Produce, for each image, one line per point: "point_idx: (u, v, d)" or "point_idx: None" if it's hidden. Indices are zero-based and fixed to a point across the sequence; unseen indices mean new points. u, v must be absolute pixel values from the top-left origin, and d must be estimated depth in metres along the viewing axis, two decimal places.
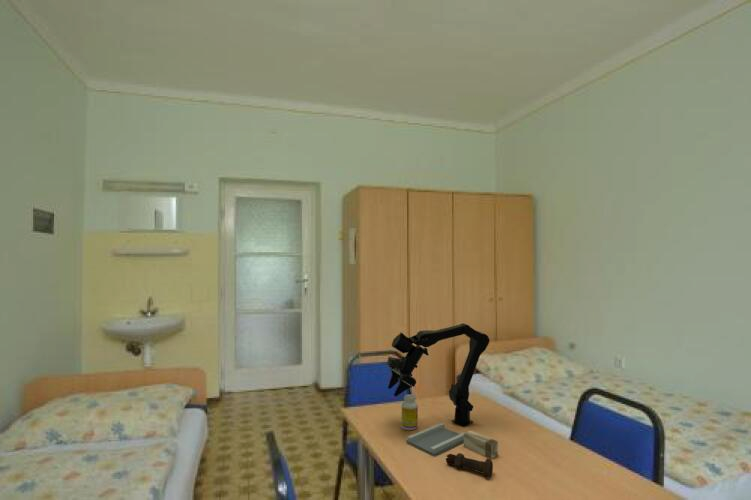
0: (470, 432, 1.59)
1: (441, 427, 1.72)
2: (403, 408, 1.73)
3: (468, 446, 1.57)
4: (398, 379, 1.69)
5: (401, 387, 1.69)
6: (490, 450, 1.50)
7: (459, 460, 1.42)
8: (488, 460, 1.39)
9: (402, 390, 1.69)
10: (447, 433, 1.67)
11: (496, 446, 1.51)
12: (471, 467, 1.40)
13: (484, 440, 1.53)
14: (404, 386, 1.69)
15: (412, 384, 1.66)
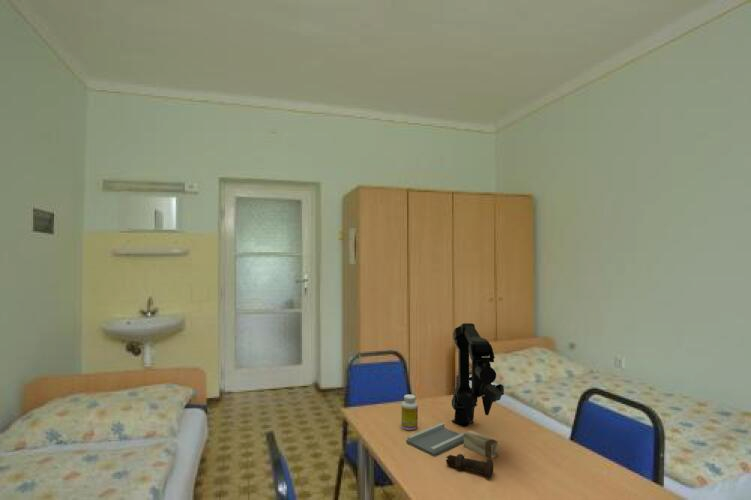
0: (470, 432, 1.59)
1: (441, 427, 1.72)
2: (403, 408, 1.73)
3: (468, 446, 1.57)
4: None
5: None
6: (490, 450, 1.50)
7: (460, 461, 1.41)
8: (489, 460, 1.38)
9: None
10: (447, 433, 1.67)
11: (496, 446, 1.51)
12: (472, 468, 1.39)
13: (484, 440, 1.53)
14: None
15: None
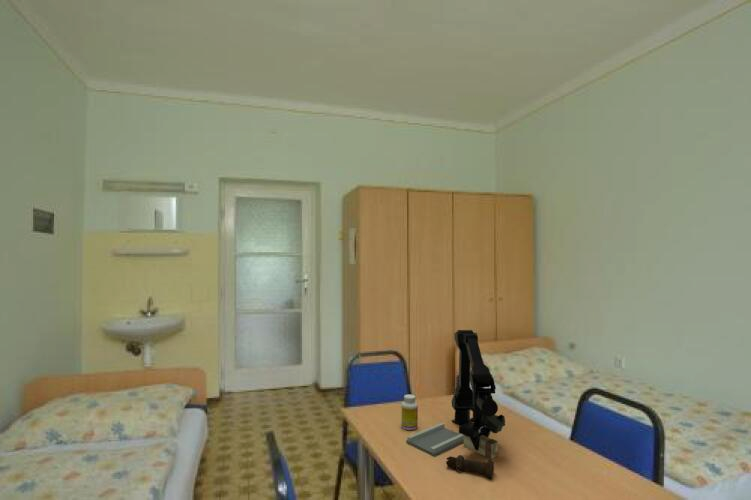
0: None
1: (441, 427, 1.72)
2: (403, 408, 1.73)
3: (468, 446, 1.57)
4: (490, 431, 1.55)
5: None
6: (490, 449, 1.50)
7: (460, 462, 1.40)
8: (490, 460, 1.38)
9: None
10: (447, 433, 1.67)
11: (496, 446, 1.51)
12: (473, 469, 1.39)
13: (484, 440, 1.53)
14: None
15: None
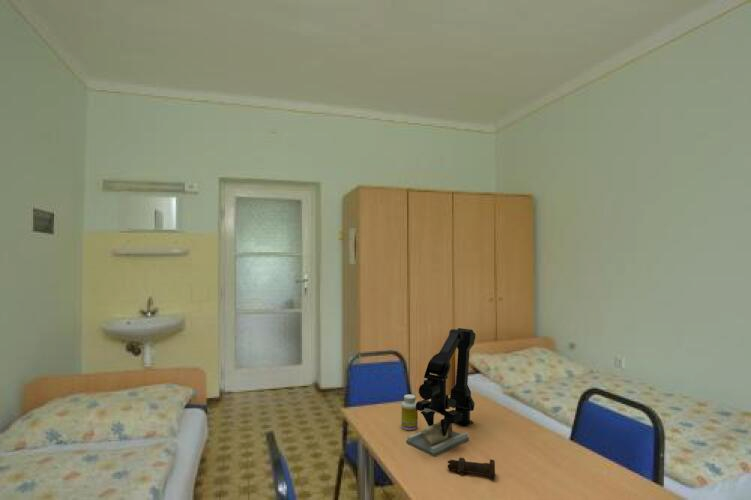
0: (428, 428, 1.60)
1: None
2: (403, 408, 1.73)
3: (435, 441, 1.58)
4: None
5: None
6: (451, 428, 1.65)
7: (463, 465, 1.39)
8: (492, 461, 1.38)
9: None
10: None
11: None
12: (475, 470, 1.38)
13: None
14: None
15: None
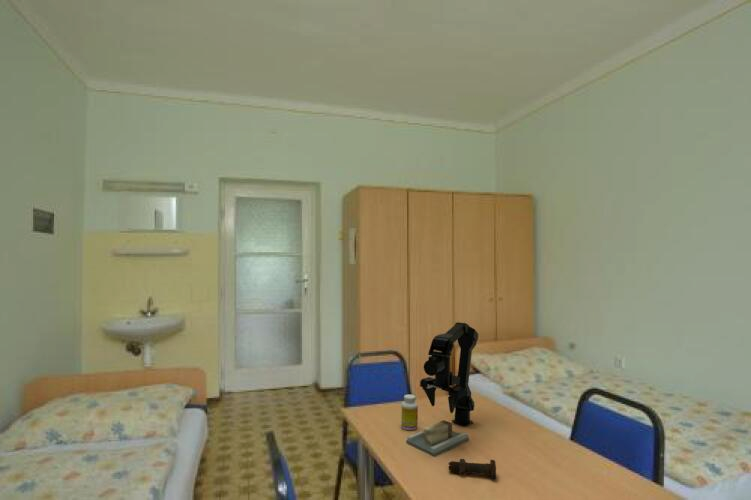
0: (428, 428, 1.60)
1: None
2: (403, 408, 1.73)
3: (435, 441, 1.58)
4: None
5: None
6: (451, 428, 1.65)
7: (464, 466, 1.38)
8: (493, 461, 1.38)
9: None
10: None
11: None
12: (477, 471, 1.37)
13: (443, 424, 1.63)
14: None
15: None
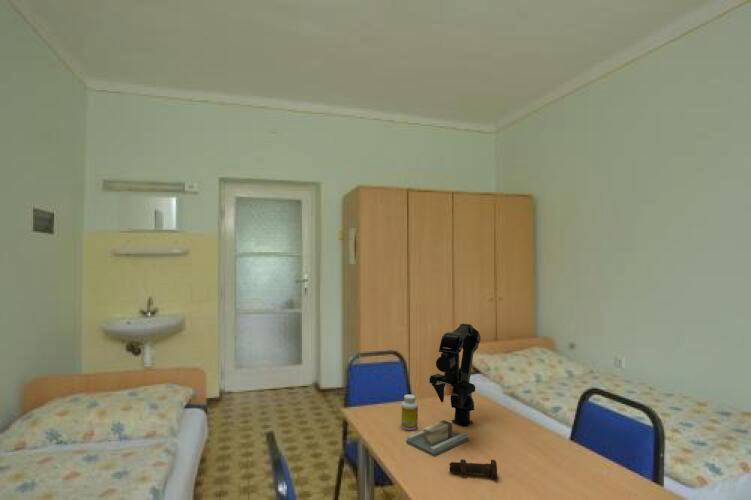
0: (428, 428, 1.60)
1: None
2: (403, 408, 1.73)
3: (435, 441, 1.58)
4: (445, 384, 1.73)
5: None
6: (451, 428, 1.65)
7: (465, 467, 1.37)
8: (494, 461, 1.38)
9: None
10: None
11: None
12: (478, 472, 1.37)
13: (443, 424, 1.63)
14: None
15: None
